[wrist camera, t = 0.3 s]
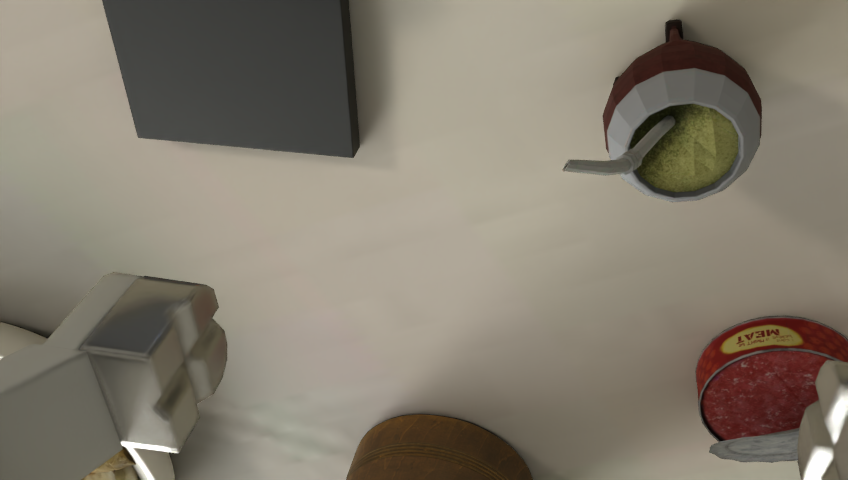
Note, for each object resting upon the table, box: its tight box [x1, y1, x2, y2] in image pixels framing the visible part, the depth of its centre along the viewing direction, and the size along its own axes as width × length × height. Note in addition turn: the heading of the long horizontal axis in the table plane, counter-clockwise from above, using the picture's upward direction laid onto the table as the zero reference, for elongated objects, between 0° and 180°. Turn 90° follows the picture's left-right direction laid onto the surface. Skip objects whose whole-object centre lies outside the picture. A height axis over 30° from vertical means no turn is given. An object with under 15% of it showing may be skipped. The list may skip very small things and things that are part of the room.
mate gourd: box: [563, 20, 762, 202], centre depth 35 cm, size 8×8×15 cm
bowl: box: [0, 322, 175, 480], centre depth 69 cm, size 30×30×8 cm
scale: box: [102, 0, 360, 158], centre depth 43 cm, size 16×14×3 cm
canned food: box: [696, 316, 848, 463], centre depth 48 cm, size 11×10×10 cm
